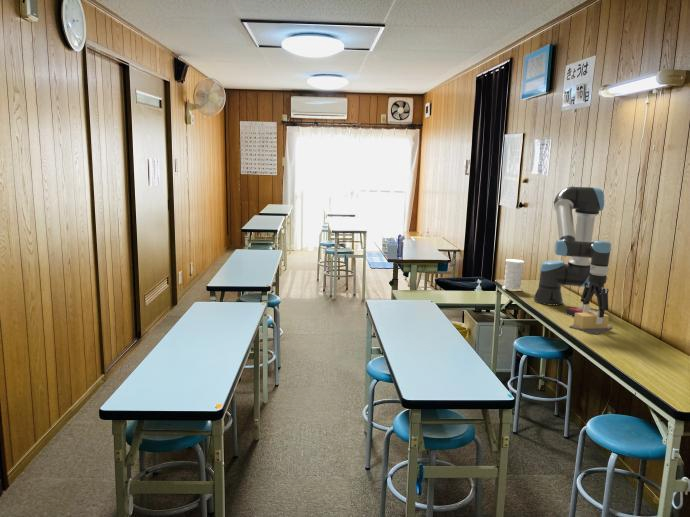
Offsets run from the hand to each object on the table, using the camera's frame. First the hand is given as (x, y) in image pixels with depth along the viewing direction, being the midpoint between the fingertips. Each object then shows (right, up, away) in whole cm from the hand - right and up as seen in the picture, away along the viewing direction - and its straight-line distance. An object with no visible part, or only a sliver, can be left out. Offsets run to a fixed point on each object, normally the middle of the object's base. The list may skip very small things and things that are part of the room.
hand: (591, 320), depth 254 cm
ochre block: (-7, 0, -2) cm, 8 cm away
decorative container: (-15, +10, +74) cm, 76 cm away
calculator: (+5, -1, +19) cm, 20 cm away
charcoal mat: (0, -3, +1) cm, 4 cm away
